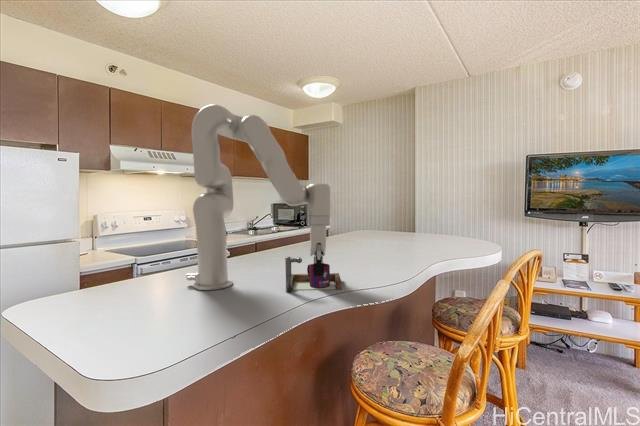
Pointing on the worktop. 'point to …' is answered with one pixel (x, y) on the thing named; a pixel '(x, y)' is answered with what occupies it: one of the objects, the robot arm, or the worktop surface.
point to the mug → (319, 277)
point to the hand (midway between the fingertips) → (318, 271)
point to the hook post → (288, 272)
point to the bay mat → (307, 286)
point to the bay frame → (306, 278)
